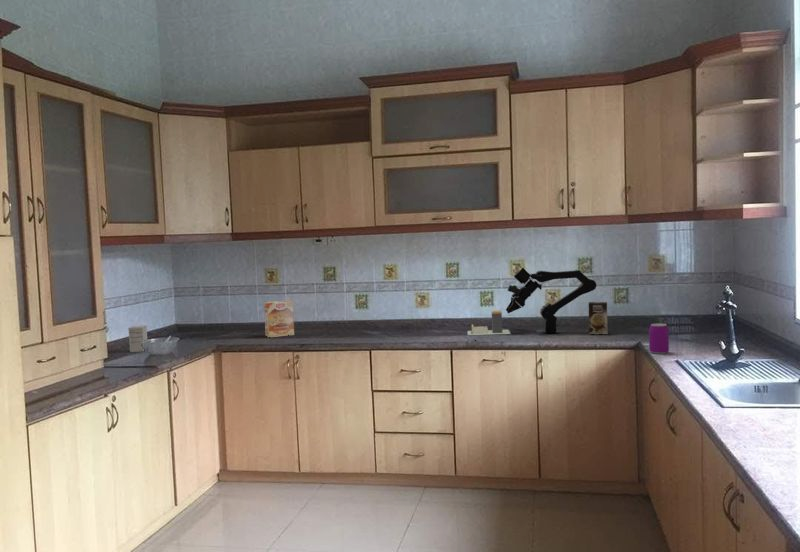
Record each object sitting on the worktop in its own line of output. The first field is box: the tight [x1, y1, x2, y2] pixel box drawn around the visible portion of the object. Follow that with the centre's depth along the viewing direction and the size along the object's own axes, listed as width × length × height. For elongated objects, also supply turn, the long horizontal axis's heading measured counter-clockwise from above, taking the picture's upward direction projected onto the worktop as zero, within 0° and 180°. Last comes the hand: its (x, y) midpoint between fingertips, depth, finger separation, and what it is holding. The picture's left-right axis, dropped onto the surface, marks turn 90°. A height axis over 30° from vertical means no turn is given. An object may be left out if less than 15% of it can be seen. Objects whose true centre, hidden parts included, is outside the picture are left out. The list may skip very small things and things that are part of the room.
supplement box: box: [127, 324, 148, 353], centre depth 357 cm, size 7×7×13 cm
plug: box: [491, 310, 503, 333], centre depth 361 cm, size 5×4×11 cm
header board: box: [467, 324, 511, 336], centre depth 362 cm, size 22×14×5 cm, turn 85°
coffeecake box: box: [263, 299, 295, 338], centre depth 390 cm, size 15×7×20 cm, turn 118°
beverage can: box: [648, 323, 670, 355], centre depth 293 cm, size 8×8×12 cm
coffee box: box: [588, 301, 608, 335], centre depth 349 cm, size 9×6×16 cm
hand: (506, 311), depth 360 cm, fingers open, 9 cm apart
